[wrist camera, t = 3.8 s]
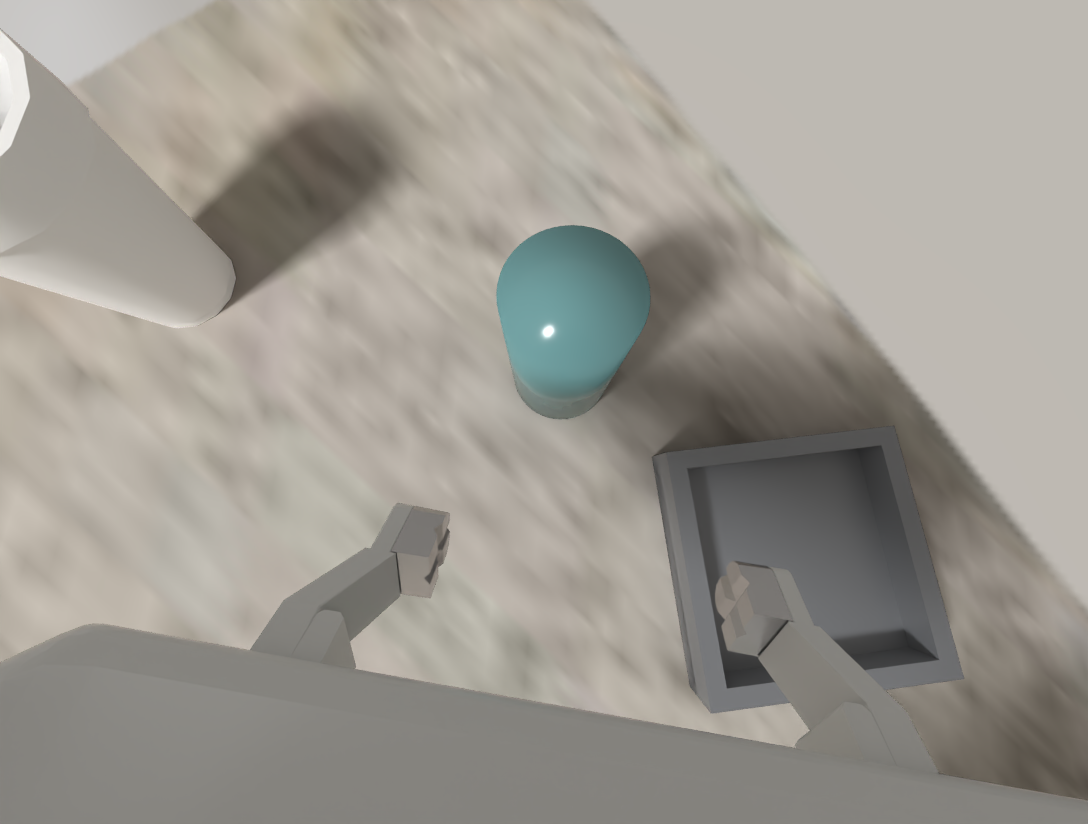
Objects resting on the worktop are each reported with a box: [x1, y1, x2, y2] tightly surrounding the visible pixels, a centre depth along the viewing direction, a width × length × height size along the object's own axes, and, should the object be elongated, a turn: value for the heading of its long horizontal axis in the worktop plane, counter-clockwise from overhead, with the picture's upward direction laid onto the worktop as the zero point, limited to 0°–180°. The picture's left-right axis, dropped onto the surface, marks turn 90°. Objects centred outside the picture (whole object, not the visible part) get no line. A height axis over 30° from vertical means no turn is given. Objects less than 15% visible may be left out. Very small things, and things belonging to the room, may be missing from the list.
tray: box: [652, 426, 964, 713], centre depth 24 cm, size 13×13×3 cm
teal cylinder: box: [497, 225, 650, 419], centre depth 22 cm, size 6×6×11 cm
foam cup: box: [0, 29, 236, 328], centre depth 22 cm, size 10×9×13 cm
